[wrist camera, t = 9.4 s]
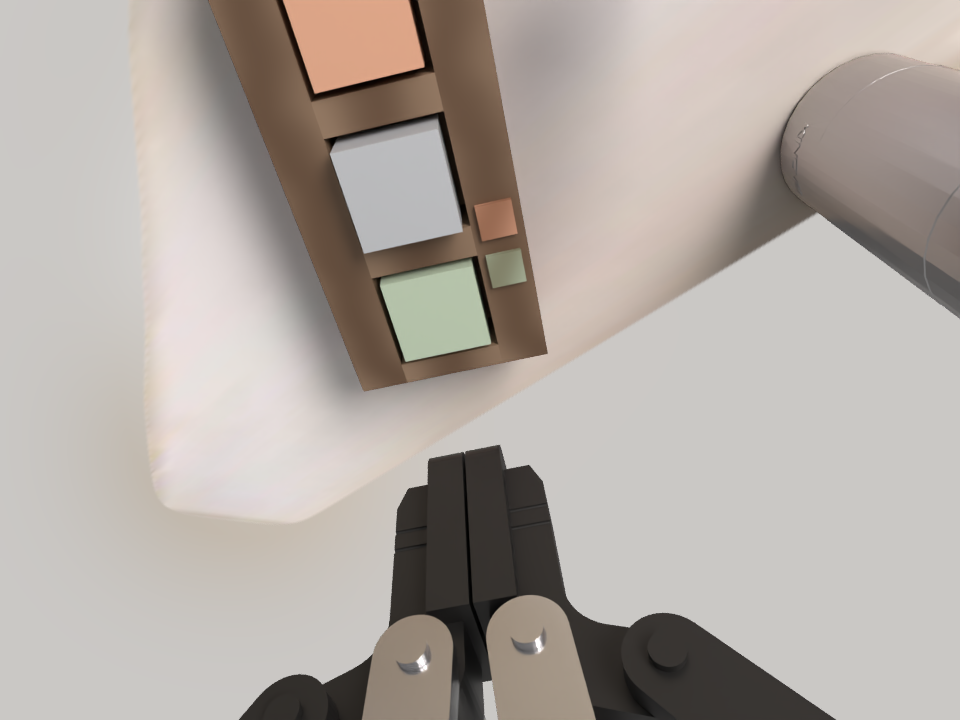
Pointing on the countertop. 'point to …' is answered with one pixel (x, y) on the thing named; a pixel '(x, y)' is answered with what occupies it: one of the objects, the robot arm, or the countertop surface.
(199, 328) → the countertop surface
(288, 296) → the countertop surface
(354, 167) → the grey key
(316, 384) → the countertop surface
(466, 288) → the sage key
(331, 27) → the terracotta key
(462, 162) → the wooden compartment tray
